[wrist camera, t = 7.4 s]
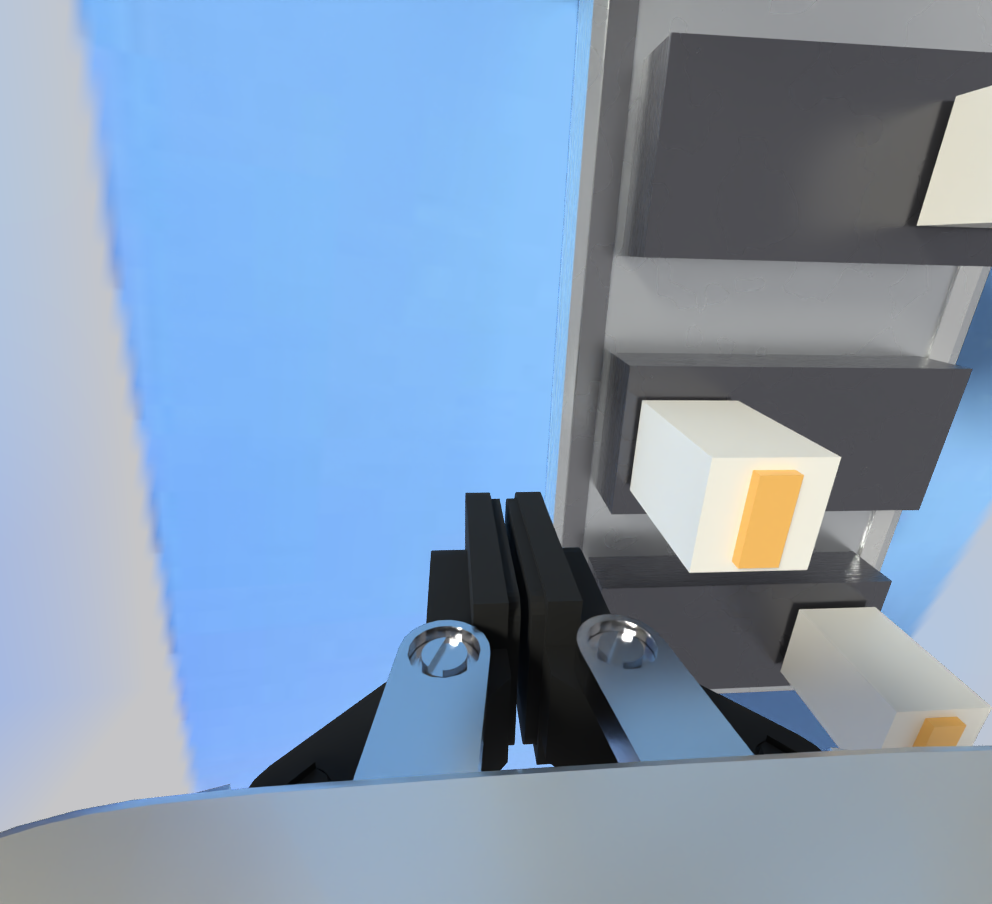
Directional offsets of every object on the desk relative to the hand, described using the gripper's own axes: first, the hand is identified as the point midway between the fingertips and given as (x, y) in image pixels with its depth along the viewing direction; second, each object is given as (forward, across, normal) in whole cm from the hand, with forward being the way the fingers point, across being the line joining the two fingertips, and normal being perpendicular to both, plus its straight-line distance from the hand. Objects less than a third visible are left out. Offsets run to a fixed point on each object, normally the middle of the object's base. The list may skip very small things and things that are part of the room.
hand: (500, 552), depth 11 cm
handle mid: (+5, -6, -1) cm, 8 cm away
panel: (+9, -10, -1) cm, 13 cm away
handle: (+5, -13, +7) cm, 16 cm away
